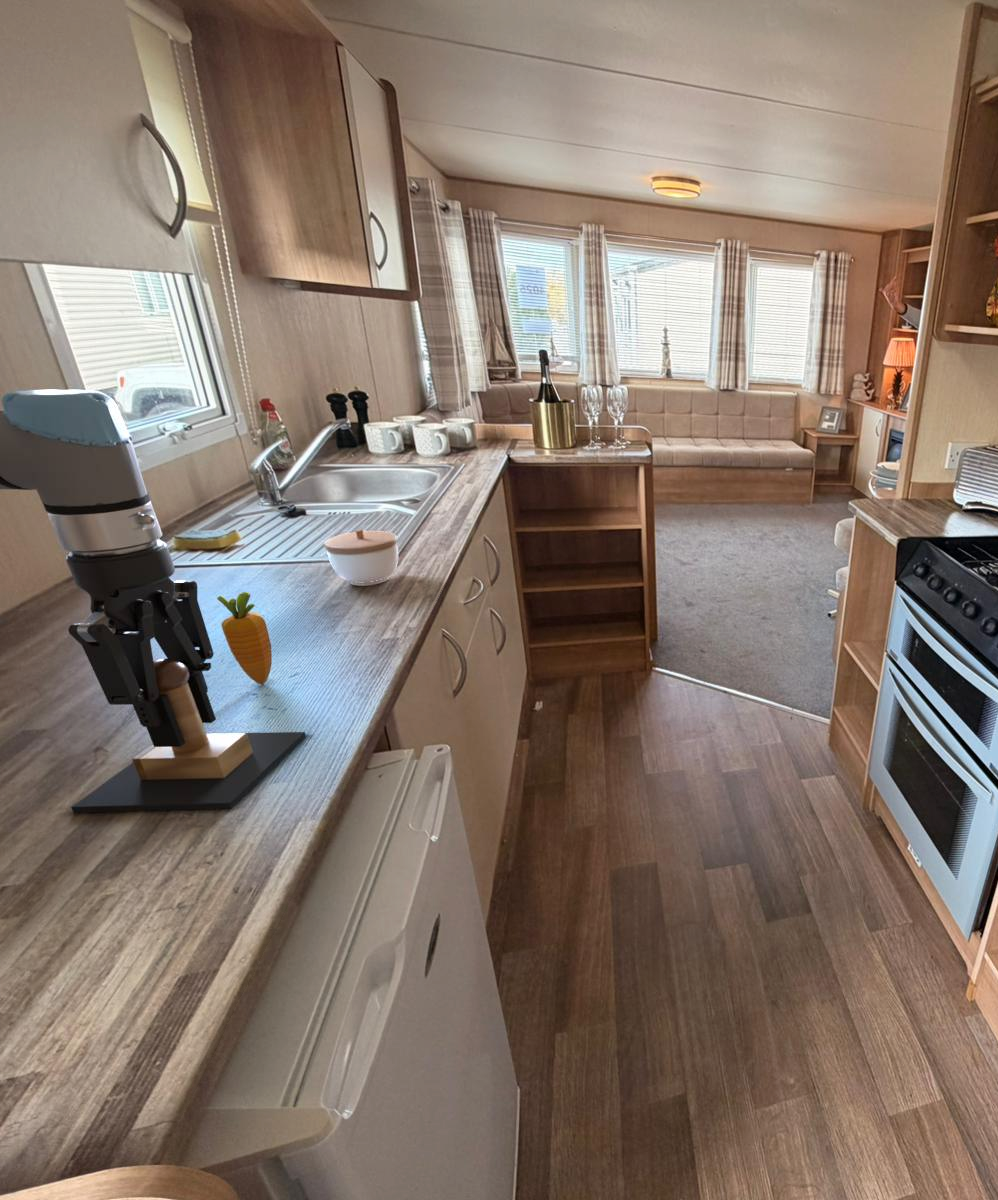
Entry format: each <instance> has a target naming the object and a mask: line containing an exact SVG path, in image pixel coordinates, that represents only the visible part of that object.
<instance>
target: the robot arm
mask: <svg viewBox="0 0 998 1200" xmlns="http://www.w3.org/2000/svg"><path fill="white" fill-rule="evenodd" d="M0 402H1V404H2V408H3V410H0V490H19V491H21V490H22V491H34V490H35V491H36V492H37V494H38V496H39V499H40V501H41V503H42V504H43V507H44V510H45V512H46V515H47V517H48V520H49V522H50V526H51V528H52V530H53V533H54V535H55V538H56V540H57V543H58V545H59V547H60V549H62V550H64V551H66V552H67V554H66V556H65V557H64V559H65V561H66V563H67V566H68V569H69V571H70V574H71V576H72V578H73V581H74V583H75V585H76V586H77V587H78V588H79V589H81V590H83V591H85V592H86V593H87V594H88V595H89V596H90V608H89V609H90V612H91V615H90V616H89V617H88V618H86V620H85V621H84V622H83V623H72V624H71V625H69V627H68V630H67V631H68V634H69V635H70V636H71V637H72V638H74V640H75V641H77V643H79V644H80V645H81V647H82V649H83V651H84V653H85V655H86V657H87V658H86V659H87V660H88V662H89V664H90V666H91V668H92V670H93V673H94V675H95V678H96V679H97V682H98V683H99V686H100V689H102V692H103V695H104V696H105V698H106V701H107V703H108V704H109V705H112V706H113V705H114V706H115V705H117V706H119V705H121V706H122V705H123V706H125V705H127V706H129V705H130V706H131V705H132V707H133V709H134V711H135V715H136V716H137V718H138V721H139V724H140V725H141V726H142V727H143V728H146V730H147V732H148V736H149V738H150V741H151V743H152V744H153V745H154V747H180V746H182V745H183V744H184V743H185V740H184V738H183V735H182V732H181V730H180V727H179V724H178V722H177V719H176V717H175V714H174V711H173V709H172V706H171V703H170V701H169V698H168V695H167V694H159V692H158V686H157V679H156V673H155V667H154V661H155V660H154V655H153V649H152V644H151V640H152V639H154V640H155V641H156V643H157V644H158V646H159V647H160V649H161V651H162V652H163V654H164V655H165V657H166V659H174V660H177V661H180V662H182V663H183V664H184V665H185V666H186V667H187V668H188V670H189V679H188V681H187V682H188V684H189V687H190V690H191V693H192V695H193V698H194V701H195V704H196V706H197V709H198V712H199V715H200V718H201V720H202V723H203V724H212V723H214V722H215V721H216V720H217V717H216V715H215V712H214V709H213V706H212V704H211V703H212V702H211V700H210V698H209V695H208V691H209V687H208V684H207V681H206V678H205V676H204V673H203V672H208V671H210V670H211V668H212V663H211V662H206V661H207V660H211V659H213V657H214V655H215V654H214V649H213V646H212V643H211V640H210V636H209V633H208V630H207V627H206V623H205V620H204V617H203V613H202V610H201V607H200V604H199V601H198V583H197V582H196V581H195V580H173V578H171V577H172V576H173V575H174V573H175V572H176V567H175V564H174V562H173V558H172V556H171V553H170V550H169V547H168V544H167V543H166V542H165V541H163V540H161V539H160V538H161V537H162V536H163V532H162V528H161V526H160V523H159V520H158V517H157V515H156V513H155V510H154V507H153V504H152V501H151V496H150V494H149V492H148V490H147V487H146V484H145V481H144V478H143V475H142V471H141V468H140V464H139V461H138V457H137V454H136V451H135V447H134V444H133V435H132V434H131V432H130V431H129V430H128V428H127V426H126V424H125V421H124V419H123V416H122V414H121V412H120V410H119V407H118V405H117V403H116V401H115V400H114V399H113V398H112V396H110V395H108V394H106V393H104V392H101V391H97V390H89V389H29V390H28V389H27V390H16V391H9V392H7V393H5V394H3V395H2V397H1V401H0ZM197 648H198V649H197Z"/></svg>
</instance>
